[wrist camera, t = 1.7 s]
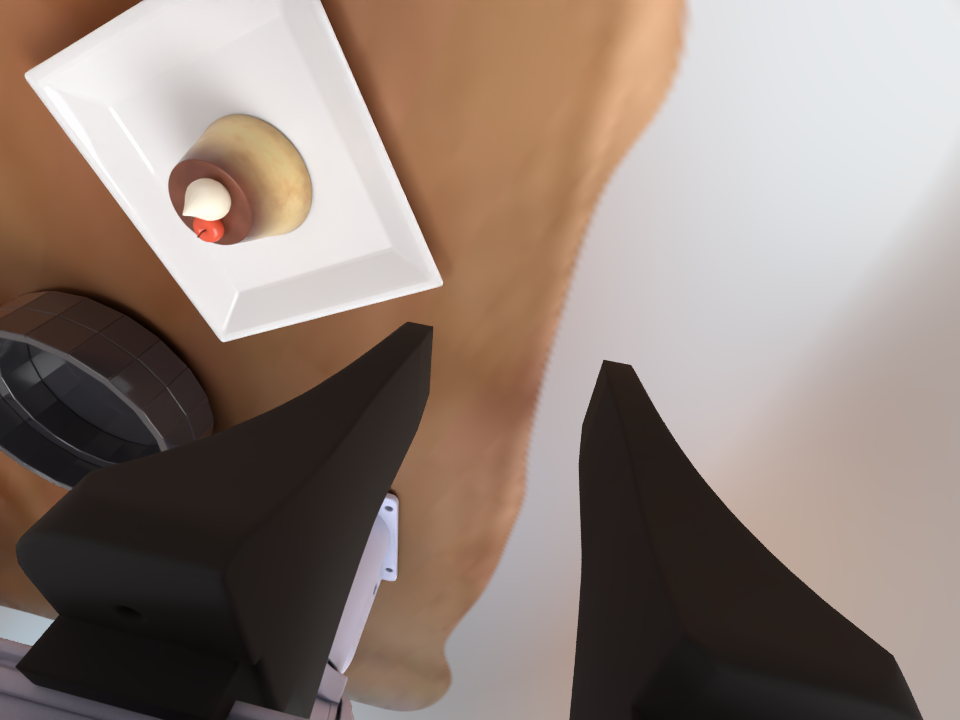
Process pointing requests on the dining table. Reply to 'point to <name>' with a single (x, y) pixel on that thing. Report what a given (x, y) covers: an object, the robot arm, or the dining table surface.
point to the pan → (89, 388)
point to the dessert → (241, 158)
